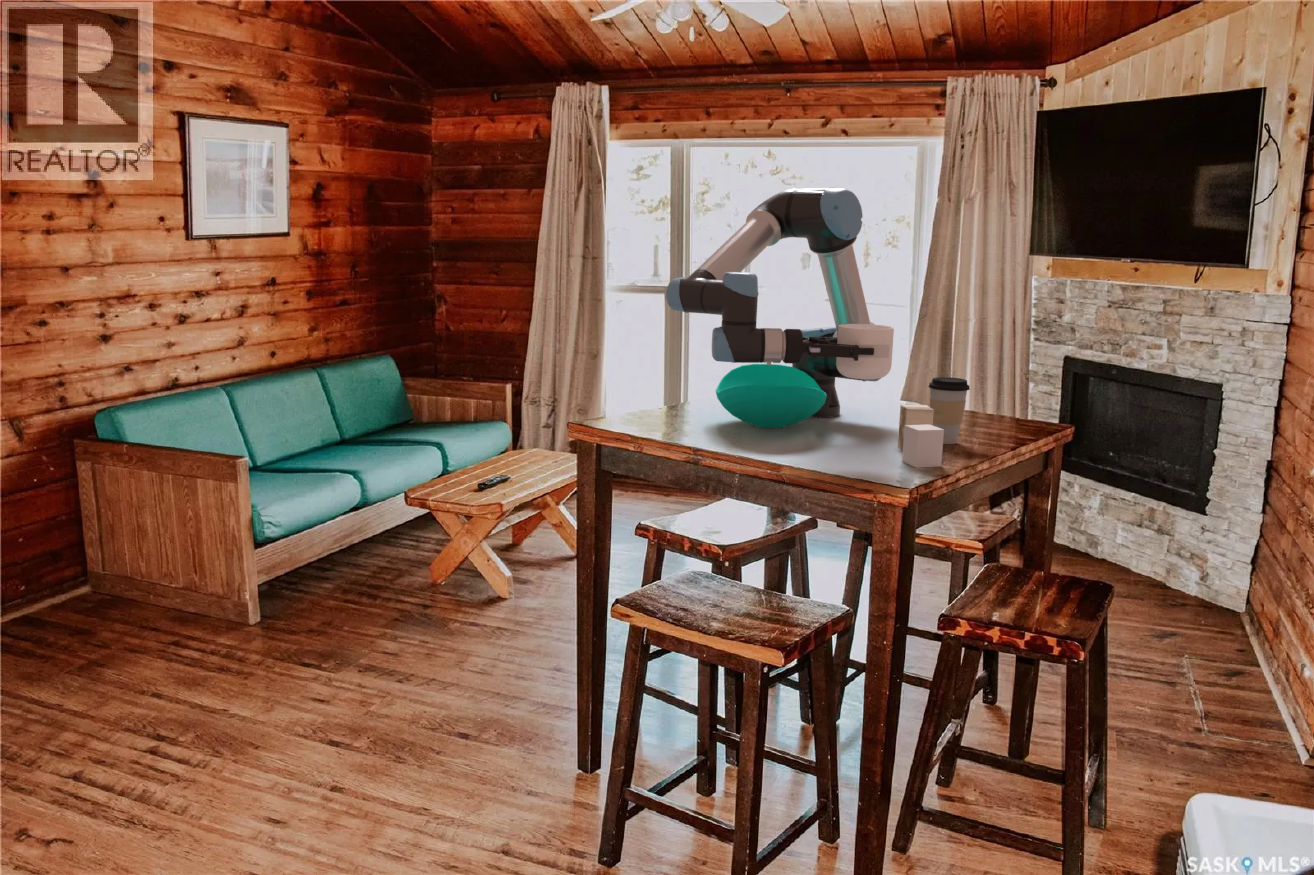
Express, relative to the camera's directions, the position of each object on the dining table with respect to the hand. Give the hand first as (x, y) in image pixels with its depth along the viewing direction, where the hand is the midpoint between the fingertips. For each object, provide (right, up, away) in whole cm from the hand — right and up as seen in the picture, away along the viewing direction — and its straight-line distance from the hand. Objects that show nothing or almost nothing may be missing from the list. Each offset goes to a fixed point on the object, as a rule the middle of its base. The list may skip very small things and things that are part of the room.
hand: (881, 347), depth 226 cm
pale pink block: (+8, -25, -3) cm, 27 cm away
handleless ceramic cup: (-4, -7, +1) cm, 8 cm away
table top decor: (-21, -17, +36) cm, 45 cm away
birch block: (+10, -22, +11) cm, 27 cm away
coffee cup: (+19, -21, +21) cm, 35 cm away
